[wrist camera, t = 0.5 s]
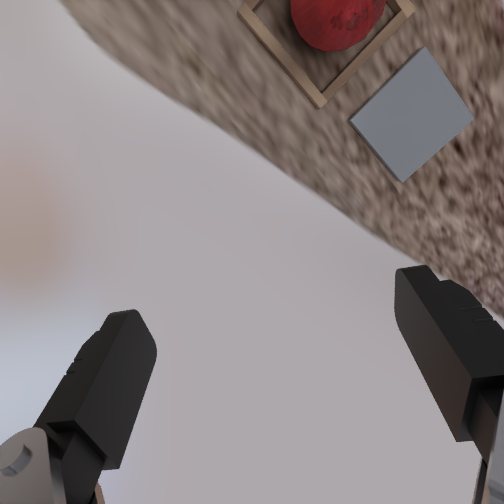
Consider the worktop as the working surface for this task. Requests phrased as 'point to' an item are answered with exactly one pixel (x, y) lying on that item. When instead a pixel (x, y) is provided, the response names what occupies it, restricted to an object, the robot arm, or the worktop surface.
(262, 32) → the square wooden frame
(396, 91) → the coaster
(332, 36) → the onion
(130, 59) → the worktop surface
